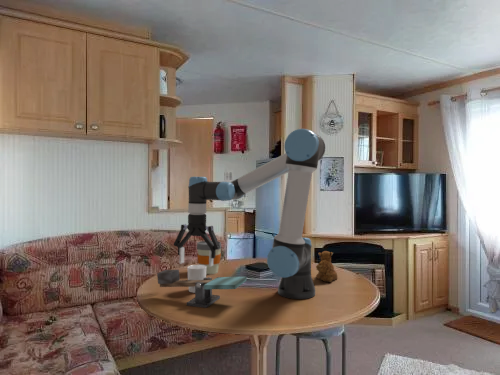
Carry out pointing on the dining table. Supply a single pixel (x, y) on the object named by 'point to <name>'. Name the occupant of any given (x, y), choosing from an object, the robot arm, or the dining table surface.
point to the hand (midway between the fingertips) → (196, 264)
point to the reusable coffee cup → (204, 257)
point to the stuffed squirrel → (326, 268)
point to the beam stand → (203, 296)
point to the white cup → (196, 274)
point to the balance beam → (172, 280)
